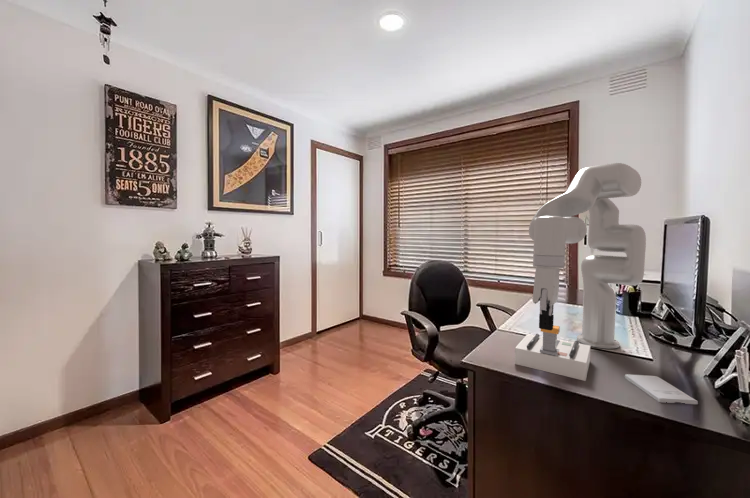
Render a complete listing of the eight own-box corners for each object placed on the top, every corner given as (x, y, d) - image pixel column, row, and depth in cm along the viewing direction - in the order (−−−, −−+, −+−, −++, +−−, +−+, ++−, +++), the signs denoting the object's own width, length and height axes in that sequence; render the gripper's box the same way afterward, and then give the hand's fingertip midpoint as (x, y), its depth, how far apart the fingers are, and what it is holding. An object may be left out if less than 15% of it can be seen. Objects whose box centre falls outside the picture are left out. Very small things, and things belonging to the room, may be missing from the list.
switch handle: (542, 348, 94) (542, 323, 94) (559, 352, 91) (559, 326, 91) (539, 352, 91) (540, 326, 91) (557, 356, 89) (557, 329, 88)
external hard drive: (657, 381, 86) (697, 406, 73) (624, 379, 87) (658, 404, 75) (657, 375, 86) (698, 399, 73) (624, 374, 87) (659, 397, 74)
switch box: (526, 348, 109) (527, 330, 108) (589, 361, 98) (590, 341, 97) (514, 363, 96) (515, 343, 96) (585, 380, 85) (586, 358, 85)
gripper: (538, 259, 94) (536, 320, 94) (527, 262, 82) (524, 332, 83) (568, 261, 89) (565, 325, 90) (560, 264, 77) (557, 338, 78)
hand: (545, 328), depth 86 cm, fingers closed
